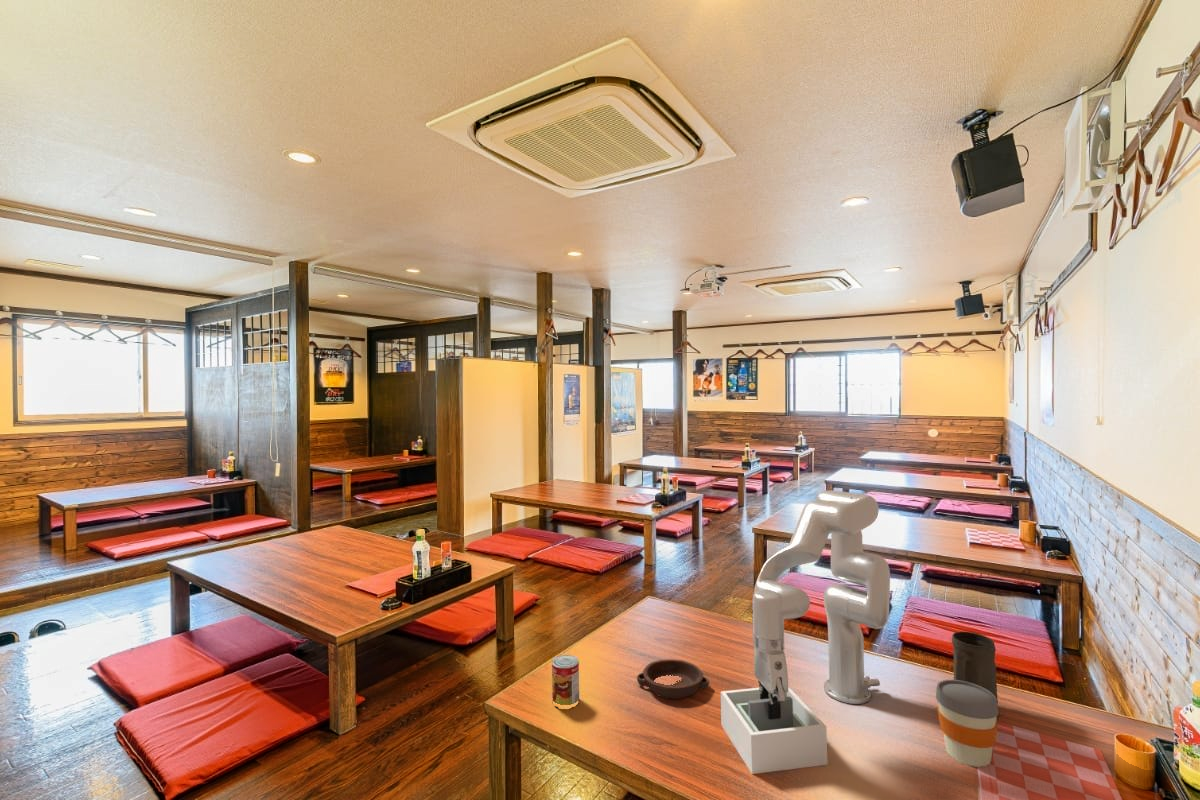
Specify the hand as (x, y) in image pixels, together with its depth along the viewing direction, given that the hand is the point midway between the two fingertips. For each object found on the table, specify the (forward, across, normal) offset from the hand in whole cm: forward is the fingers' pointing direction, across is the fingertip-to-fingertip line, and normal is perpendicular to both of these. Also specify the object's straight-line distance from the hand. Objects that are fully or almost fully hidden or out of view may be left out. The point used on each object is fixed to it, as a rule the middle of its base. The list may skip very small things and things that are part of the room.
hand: (770, 712), depth 132 cm
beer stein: (+8, +3, -61) cm, 62 cm away
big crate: (+8, 0, 0) cm, 8 cm away
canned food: (+8, +28, +50) cm, 58 cm away
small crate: (+7, 0, 0) cm, 7 cm away
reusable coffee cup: (+8, -12, -45) cm, 47 cm away
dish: (+8, +30, +17) cm, 35 cm away
